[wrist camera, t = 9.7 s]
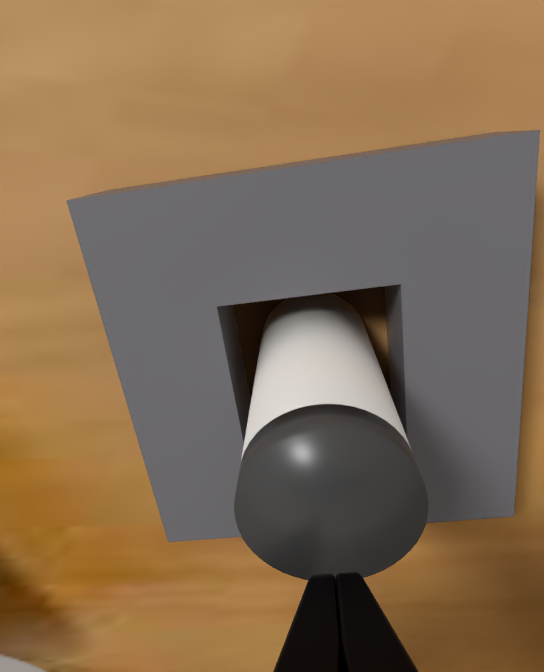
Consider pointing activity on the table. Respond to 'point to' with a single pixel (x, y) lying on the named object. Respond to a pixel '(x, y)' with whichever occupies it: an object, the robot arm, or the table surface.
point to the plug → (325, 449)
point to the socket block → (318, 278)
